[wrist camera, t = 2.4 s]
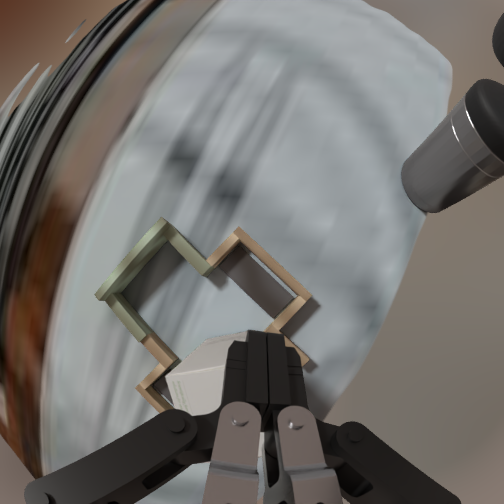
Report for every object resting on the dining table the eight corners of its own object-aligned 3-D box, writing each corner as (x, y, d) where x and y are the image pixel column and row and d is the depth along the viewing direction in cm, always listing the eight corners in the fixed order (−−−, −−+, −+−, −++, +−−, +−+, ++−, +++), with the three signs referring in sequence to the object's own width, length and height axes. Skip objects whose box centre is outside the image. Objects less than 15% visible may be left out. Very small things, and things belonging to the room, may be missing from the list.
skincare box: (206, 337, 33) (158, 369, 17) (259, 327, 32) (252, 355, 17) (222, 399, 31) (191, 465, 16) (273, 391, 31) (277, 457, 16)
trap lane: (202, 194, 35) (194, 183, 31) (338, 322, 32) (347, 325, 28) (89, 321, 34) (72, 322, 30) (206, 444, 30) (199, 458, 26)
